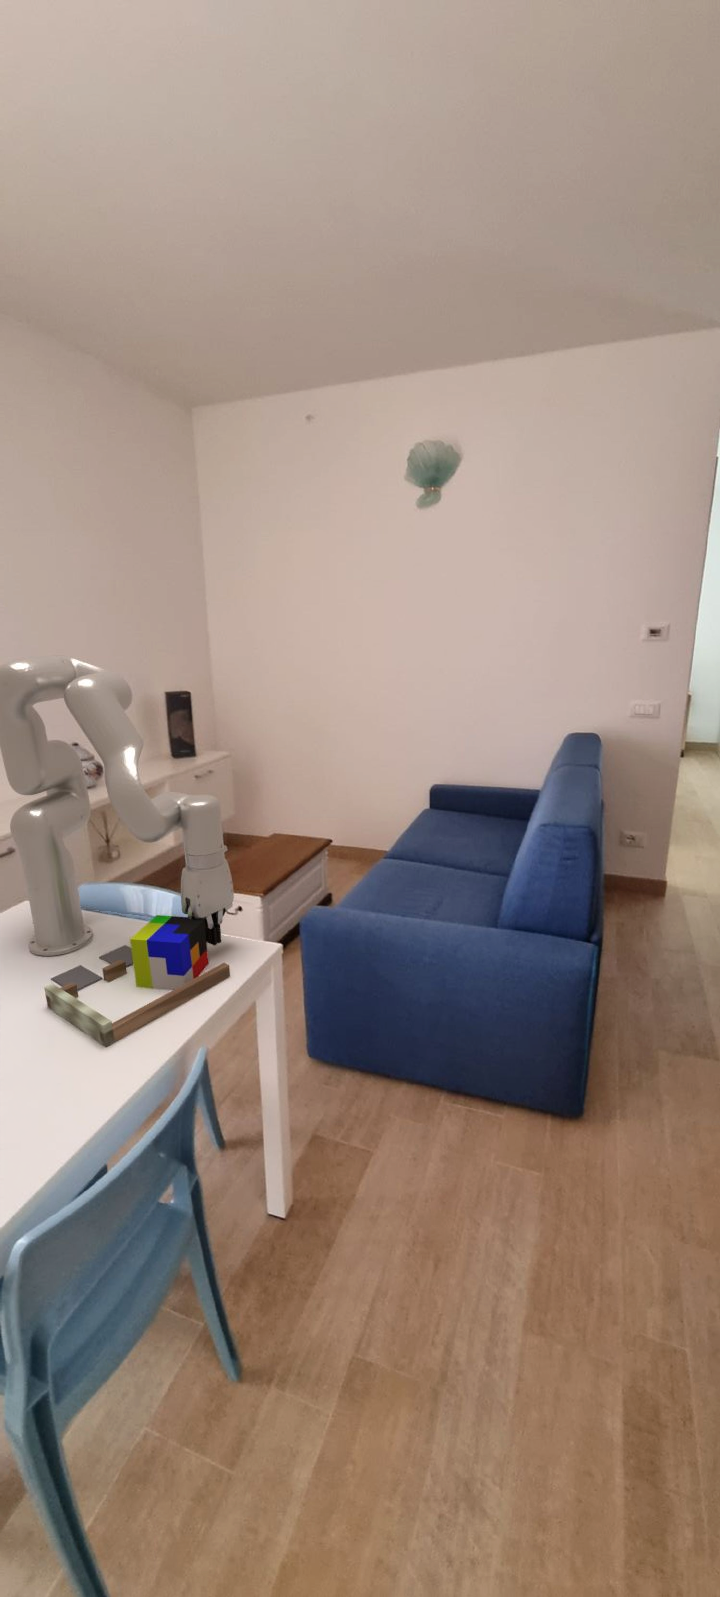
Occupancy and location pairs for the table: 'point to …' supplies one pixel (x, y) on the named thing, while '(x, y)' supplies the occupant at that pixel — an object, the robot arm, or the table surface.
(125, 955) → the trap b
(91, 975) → the grey flat block
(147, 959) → the puzzle toy
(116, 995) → the table surface
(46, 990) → the trap box
